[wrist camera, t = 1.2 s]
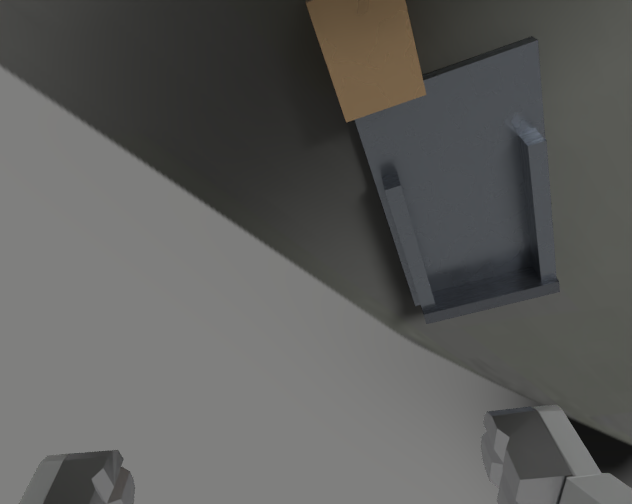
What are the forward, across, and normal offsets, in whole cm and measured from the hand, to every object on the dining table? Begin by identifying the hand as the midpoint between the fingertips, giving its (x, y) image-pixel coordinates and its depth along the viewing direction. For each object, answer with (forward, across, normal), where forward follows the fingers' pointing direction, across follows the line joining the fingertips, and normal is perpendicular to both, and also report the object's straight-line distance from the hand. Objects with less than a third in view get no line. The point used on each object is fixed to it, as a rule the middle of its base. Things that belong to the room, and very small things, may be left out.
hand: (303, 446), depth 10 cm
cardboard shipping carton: (+26, -5, -5) cm, 27 cm away
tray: (+27, -12, +7) cm, 31 cm away
